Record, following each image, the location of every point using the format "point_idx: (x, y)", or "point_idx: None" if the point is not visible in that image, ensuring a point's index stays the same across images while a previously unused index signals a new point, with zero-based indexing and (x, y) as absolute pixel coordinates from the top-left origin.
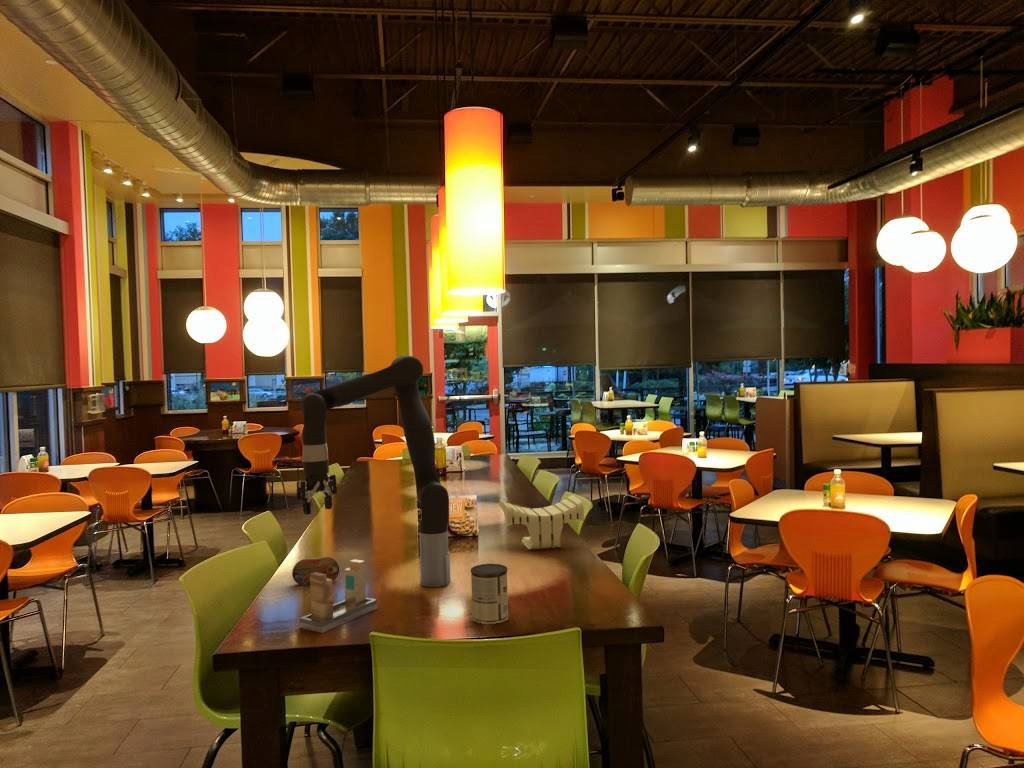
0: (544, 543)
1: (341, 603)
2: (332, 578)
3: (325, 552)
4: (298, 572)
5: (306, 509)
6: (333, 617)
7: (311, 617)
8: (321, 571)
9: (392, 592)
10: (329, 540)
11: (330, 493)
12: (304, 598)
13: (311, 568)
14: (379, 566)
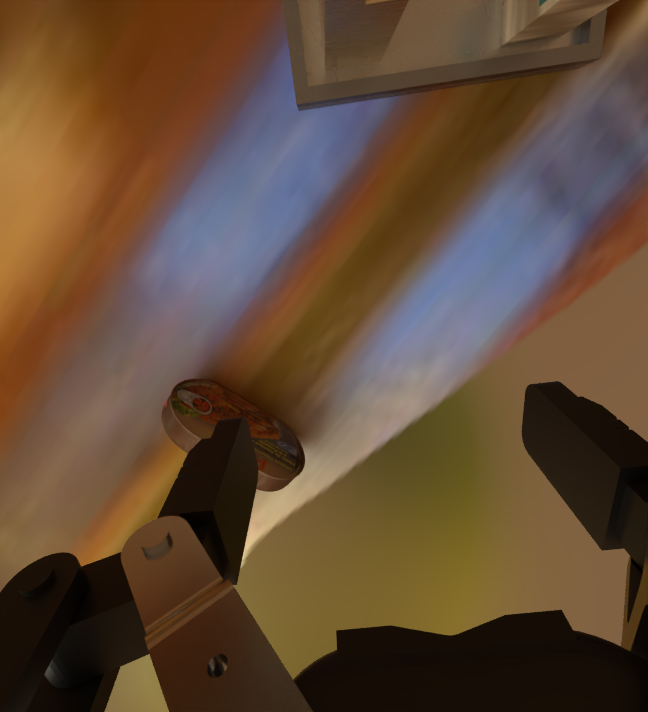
0: None
1: (389, 75)
2: (203, 386)
3: None
4: (286, 457)
5: (612, 422)
6: None
7: (567, 31)
8: (225, 418)
9: (120, 105)
10: None
11: (172, 562)
12: (358, 321)
13: None
14: (5, 393)
